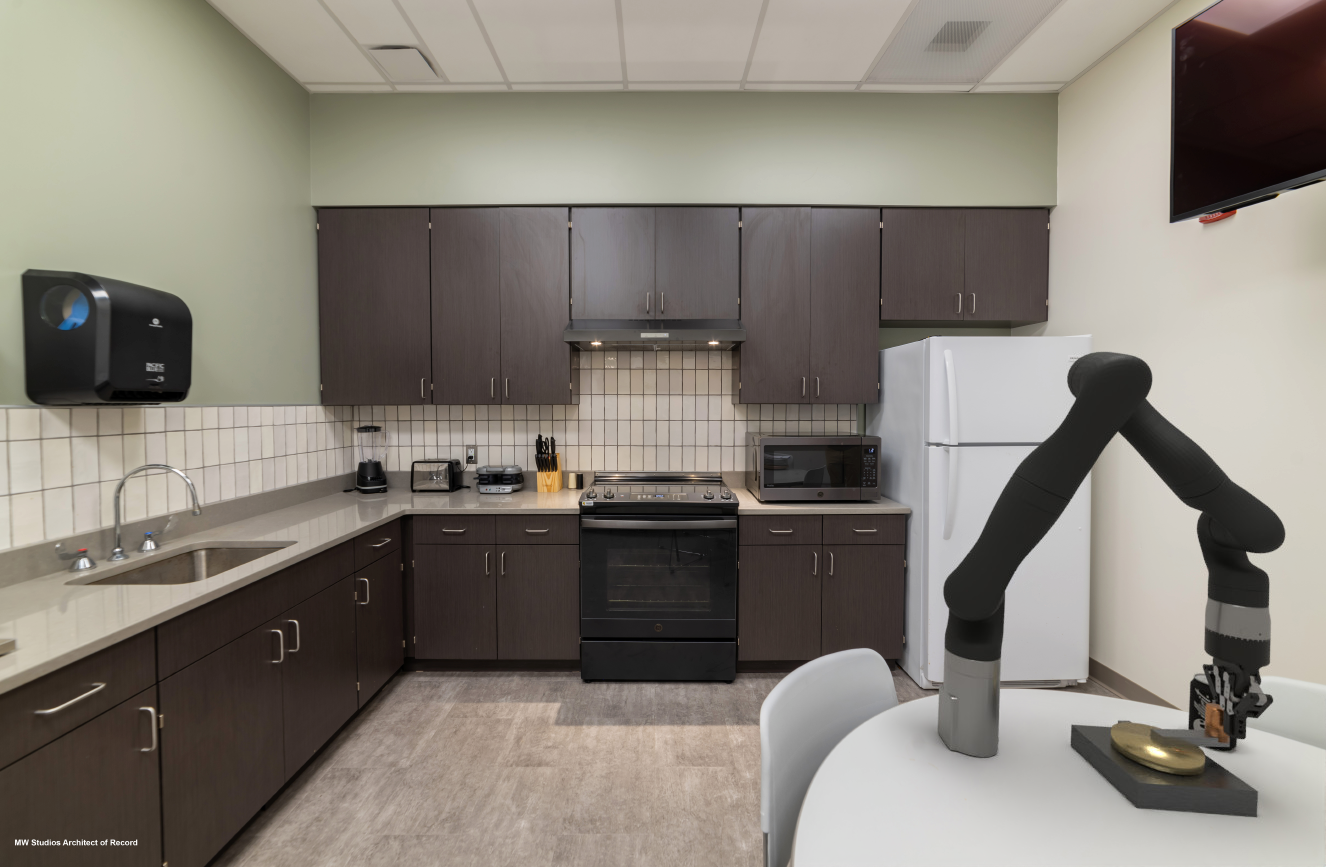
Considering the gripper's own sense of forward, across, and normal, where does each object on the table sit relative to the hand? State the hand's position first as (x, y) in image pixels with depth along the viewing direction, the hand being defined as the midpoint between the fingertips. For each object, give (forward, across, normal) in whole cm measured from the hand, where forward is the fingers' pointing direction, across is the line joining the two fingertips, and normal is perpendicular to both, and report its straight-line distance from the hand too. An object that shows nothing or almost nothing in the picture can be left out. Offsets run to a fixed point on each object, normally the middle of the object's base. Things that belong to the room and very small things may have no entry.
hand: (1234, 736), depth 93 cm
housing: (+9, +1, +10) cm, 14 cm away
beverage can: (+9, +18, -6) cm, 21 cm away
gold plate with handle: (+5, +2, +7) cm, 9 cm away
